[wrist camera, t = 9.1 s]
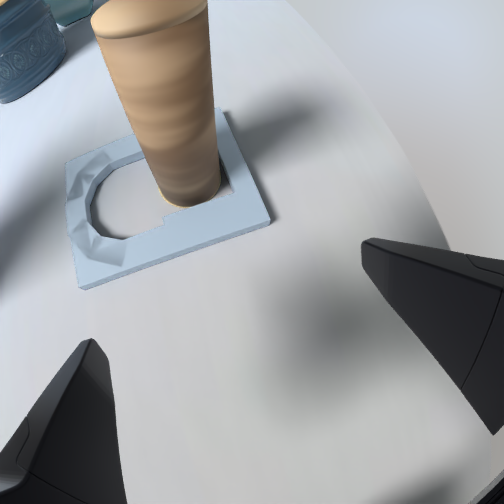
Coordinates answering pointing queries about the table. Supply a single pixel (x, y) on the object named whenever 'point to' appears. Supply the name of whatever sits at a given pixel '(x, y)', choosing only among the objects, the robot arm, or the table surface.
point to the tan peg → (165, 89)
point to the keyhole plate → (175, 225)
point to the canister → (27, 46)
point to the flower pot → (69, 10)
